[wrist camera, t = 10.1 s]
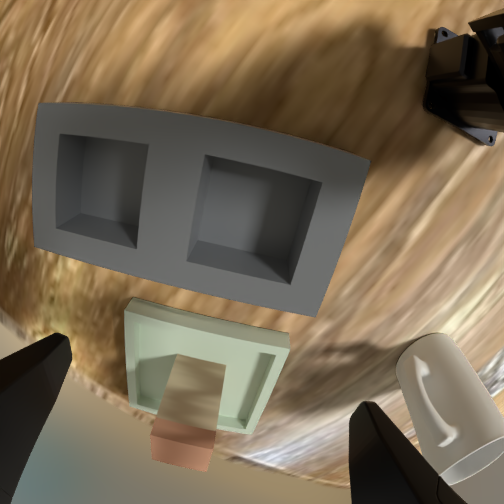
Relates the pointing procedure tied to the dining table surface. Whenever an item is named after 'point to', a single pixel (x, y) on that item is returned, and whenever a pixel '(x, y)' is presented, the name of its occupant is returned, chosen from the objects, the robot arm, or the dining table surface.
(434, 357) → the mug
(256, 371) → the tray
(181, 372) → the plug
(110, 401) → the dining table surface
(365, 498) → the robot arm
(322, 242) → the grey cinder block
